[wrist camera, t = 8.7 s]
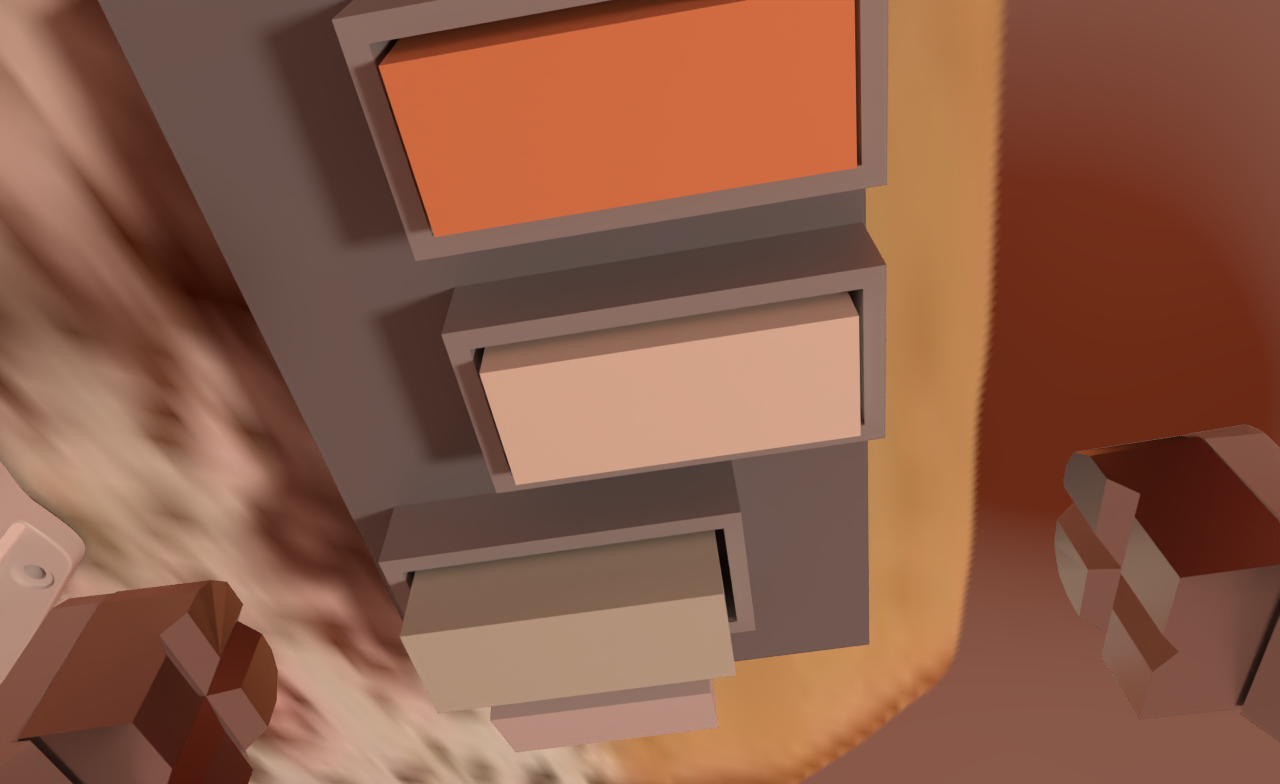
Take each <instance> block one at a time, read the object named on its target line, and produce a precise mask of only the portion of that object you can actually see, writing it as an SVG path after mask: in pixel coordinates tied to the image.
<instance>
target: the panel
mask: <svg viewBox="0 0 1280 784" xmlns="http://www.w3.org/2000/svg"><path fill="white" fill-rule="evenodd" d="M603 1H609V0H98V2H99V4H100V6H101V8H102V10H103V12H104V14H105V16H106V18H107V20H108V22H109V24H110V26H111V28H112V30H113V32H114V34H115V36H116V38H117V41H118V43H119V45H120V47H121V49H122V51H123V53H124V55H125V57H126V59H127V61H128V63H129V65H130V67H131V69H132V71H133V73H134V75H135V77H136V79H137V81H138V83H139V85H140V87H141V89H142V91H143V93H144V95H145V97H146V100H147V102H148V104H149V106H150V108H151V110H152V112H153V114H154V116H155V118H156V120H157V122H158V124H159V126H160V128H161V130H162V132H163V134H164V136H165V138H166V140H167V142H168V144H169V146H170V148H171V150H172V152H173V154H174V156H175V159H176V161H177V163H178V165H179V167H180V169H181V171H182V173H183V175H184V177H185V179H186V181H187V183H188V185H189V187H190V189H191V191H192V193H193V195H194V197H195V199H196V201H197V203H198V205H199V207H200V209H201V211H202V213H203V215H204V218H205V220H206V222H207V224H208V226H209V228H210V230H211V232H212V234H213V236H214V238H215V240H216V242H217V244H218V246H219V248H220V250H221V252H222V254H223V256H224V258H225V260H226V262H227V264H228V266H229V268H230V270H231V272H232V274H233V277H234V279H235V281H236V283H237V285H238V287H239V289H240V291H241V293H242V295H243V297H244V299H245V301H246V303H247V305H248V307H249V309H250V311H251V313H252V315H253V317H254V319H255V321H256V323H257V325H258V327H259V329H260V331H261V333H262V336H263V338H264V340H265V342H266V344H267V346H268V348H269V350H270V352H271V354H272V356H273V358H274V360H275V362H276V364H277V366H278V368H279V370H280V372H281V374H282V376H283V378H284V380H285V382H286V384H287V386H288V388H289V390H290V392H291V394H292V397H293V399H294V401H295V403H296V405H297V407H298V409H299V411H300V413H301V415H302V417H303V419H304V421H305V423H306V425H307V427H308V429H309V431H310V433H311V435H312V437H313V439H314V441H315V443H316V445H317V447H318V449H319V451H320V453H321V456H322V458H323V460H324V462H325V464H326V466H327V468H328V470H329V472H330V474H331V476H332V478H333V480H334V482H335V484H336V486H337V488H338V490H339V492H340V494H341V496H342V498H343V500H344V502H345V504H346V506H347V508H348V510H349V512H350V515H351V517H352V519H353V521H354V523H355V525H356V527H357V529H358V531H359V533H360V535H361V537H362V539H363V541H364V543H365V545H366V547H367V549H368V551H369V553H370V555H371V557H372V559H373V561H374V563H375V565H376V567H377V569H378V571H379V574H380V576H381V578H382V580H383V582H384V584H385V586H386V588H387V590H388V592H389V594H390V596H391V598H392V600H393V602H394V604H395V606H396V608H397V610H398V612H399V614H400V616H401V618H402V620H404V616H405V612H406V608H407V604H408V600H409V595H410V591H411V587H412V583H413V579H414V574H415V571H418V570H425V569H432V568H439V567H447V566H454V565H461V564H469V563H476V562H483V561H490V560H498V559H505V558H512V557H519V556H527V555H534V554H541V553H548V552H556V551H563V550H570V549H578V548H585V547H592V546H599V545H607V544H614V543H621V542H628V541H636V540H643V539H650V538H658V537H665V536H672V535H679V534H687V533H694V532H701V531H708V530H715V536H716V543H717V549H718V556H719V562H720V569H721V575H722V582H723V588H724V595H725V601H726V608H727V615H728V622H729V629H730V636H731V643H732V650H733V657H734V661H742V660H750V659H757V658H765V657H773V656H781V655H789V654H797V653H805V652H813V651H820V650H828V649H836V648H844V647H852V646H860V645H868V644H869V563H868V441H867V440H874V439H881V438H885V389H886V263H885V261H884V260H883V258H882V256H881V254H880V253H879V251H878V249H877V247H876V246H875V244H874V242H873V240H872V239H871V237H870V235H869V233H868V232H867V230H866V196H865V188H870V187H876V186H882V185H887V113H888V0H855V62H856V133H857V168H854V169H848V170H842V171H836V172H830V173H823V174H817V175H811V176H805V177H799V178H793V179H787V180H781V181H775V182H769V183H763V184H756V185H750V186H744V187H738V188H732V189H726V190H720V191H714V192H708V193H702V194H695V195H689V196H683V197H677V198H671V199H665V200H659V201H653V202H647V203H641V204H634V205H628V206H622V207H616V208H610V209H604V210H598V211H592V212H586V213H580V214H573V215H567V216H561V217H555V218H549V219H543V220H537V221H531V222H525V223H519V224H512V225H506V226H500V227H494V228H488V229H482V230H476V231H470V232H464V233H458V234H451V235H445V236H439V237H434V234H433V231H432V228H431V225H430V221H429V218H428V215H427V212H426V209H425V206H424V203H423V200H422V197H421V194H420V191H419V188H418V185H417V182H416V179H415V176H414V173H413V170H412V167H411V164H410V160H409V157H408V154H407V151H406V148H405V145H404V142H403V139H402V136H401V133H400V130H399V127H398V124H397V121H396V118H395V115H394V112H393V109H392V106H391V103H390V100H389V96H388V93H387V90H386V87H385V84H384V81H383V78H382V75H381V72H380V69H379V65H380V63H381V62H382V61H383V59H384V58H385V57H386V56H387V54H388V53H389V52H390V50H391V49H392V48H393V47H394V45H395V44H396V43H397V41H398V40H399V39H400V38H404V37H409V36H415V35H420V34H426V33H431V32H437V31H442V30H448V29H454V28H459V27H465V26H470V25H476V24H481V23H487V22H492V21H498V20H503V19H509V18H514V17H520V16H526V15H531V14H537V13H542V12H548V11H553V10H559V9H564V8H570V7H575V6H581V5H587V4H592V3H598V2H603ZM845 291H848V293H849V295H850V297H851V300H852V302H853V304H854V306H855V308H856V310H857V313H858V315H859V351H860V422H861V436H856V437H849V438H842V439H835V440H828V441H821V442H814V443H807V444H800V445H793V446H786V447H779V448H772V449H765V450H758V451H751V452H744V453H737V454H730V455H723V456H716V457H709V458H702V459H695V460H688V461H681V462H674V463H667V464H660V465H653V466H646V467H639V468H632V469H625V470H618V471H611V472H604V473H597V474H590V475H583V476H576V477H569V478H562V479H555V480H548V481H541V482H534V483H527V484H520V485H516V484H515V481H514V478H513V474H512V471H511V468H510V465H509V462H508V459H507V456H506V453H505V450H504V447H503V444H502V441H501V438H500V435H499V432H498V429H497V426H496V423H495V420H494V417H493V413H492V410H491V407H490V404H489V401H488V398H487V395H486V392H485V389H484V386H483V383H482V380H481V377H480V374H479V373H480V369H481V364H482V359H483V354H484V350H485V347H489V346H496V345H502V344H509V343H515V342H522V341H528V340H535V339H541V338H547V337H554V336H560V335H567V334H573V333H580V332H586V331H593V330H599V329H606V328H612V327H619V326H625V325H632V324H638V323H644V322H651V321H657V320H664V319H670V318H677V317H683V316H690V315H696V314H703V313H709V312H716V311H722V310H729V309H735V308H742V307H748V306H754V305H761V304H767V303H774V302H780V301H787V300H793V299H800V298H806V297H813V296H819V295H826V294H832V293H839V292H845Z"/></svg>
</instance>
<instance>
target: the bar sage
mask: <svg viewBox="0 0 1280 784" xmlns="http://www.w3.org/2000/svg"><path fill="white" fill-rule="evenodd" d="M400 639H401V641H402V643H403V645H404V647H405V649H406V651H407V653H408V655H409V657H410V659H411V661H412V663H413V665H414V667H415V669H416V671H417V673H418V675H419V677H420V679H421V680H422V682H423V684H424V686H425V688H426V690H427V692H428V694H429V696H430V698H431V700H432V702H433V704H434V706H435V708H436V710H437V712H438V713H443V712H451V711H459V710H467V709H475V708H483V707H491V706H499V705H507V704H515V703H523V702H530V701H538V700H546V699H554V698H562V697H570V696H578V695H586V694H594V693H602V692H610V691H618V690H626V689H634V688H642V687H650V686H658V685H665V684H673V683H681V682H689V681H697V680H705V679H713V678H721V677H729V676H736V670H735V663H734V657H733V650H732V643H731V636H730V629H729V622H728V615H727V608H726V601H725V595H724V588H723V582H722V575H721V569H720V562H719V556H718V549H717V543H716V536H715V530H708V531H701V532H694V533H687V534H679V535H672V536H665V537H658V538H650V539H643V540H636V541H628V542H621V543H614V544H607V545H599V546H592V547H585V548H578V549H570V550H563V551H556V552H548V553H541V554H534V555H527V556H519V557H512V558H505V559H498V560H490V561H483V562H476V563H469V564H461V565H454V566H447V567H439V568H432V569H425V570H418V571H415V574H414V579H413V583H412V587H411V591H410V595H409V600H408V604H407V608H406V612H405V616H404V620H403V625H402V629H401V633H400Z"/></svg>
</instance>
